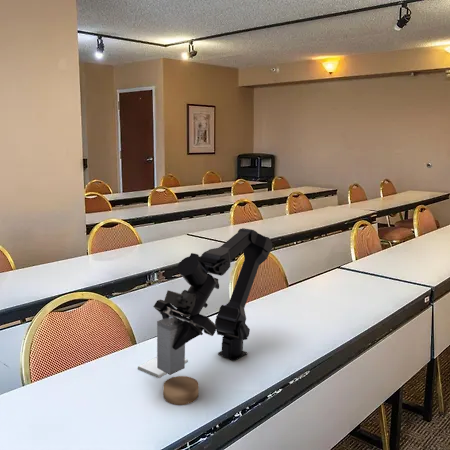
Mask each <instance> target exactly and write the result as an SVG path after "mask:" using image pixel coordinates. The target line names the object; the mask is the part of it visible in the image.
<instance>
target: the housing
mask: <svg viewBox="0 0 450 450" xmlns="http://www.w3.org/2000/svg"><path fill="white" fill-rule="evenodd" d="M184 321H185V320H182V319H180V318H177V317H174V316H170V317H168V318H165V319H163V318H162V319H160V320H157V321H156V325H157V326H156V330H157V331H156V332H157V333H156V334H157V335H156V337H157V338H156V342H157V347H156V352H157V354H156V357H157V368H158V369H160V370H162V371H164V372H165V373H167V374H168V375H169V376H171V375H174V374H176V373H178V372H180V371H183V370H184V369H185V367H186V365H185V364H186V363H185V358H186V344H184V345H183V346H181V347H180V348H178V349H177V350H175V349H173V347H174V344H175V342H176V340H177V339H178V337H179V335H180V333H181V332H182V330H183V325H184ZM167 374H166V375H167Z"/></svg>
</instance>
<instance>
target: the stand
mask: <svg viewBox="0 0 450 450" xmlns="http://www.w3.org/2000/svg"><path fill="white" fill-rule="evenodd" d="M199 385H200V384H199V382H198V380H197V379H195V378H193V377H191V376H186V375H178V376H172V377H169V378H168V379H166V380H165V381H164V382H163V387H162V388H163V393H162V395H163V399H164V401H165V402H167V403H169V404H171V405H175V406H183V405H190V404H192V403H194V402H195V401H197V400H198V398H199V391H200V390H199Z"/></svg>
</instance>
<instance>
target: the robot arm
mask: <svg viewBox="0 0 450 450" xmlns="http://www.w3.org/2000/svg"><path fill="white" fill-rule="evenodd" d="M272 250H273V242H272V241H271V239H270V237H268V236H265V235H263V234H260V233H258V232H257V231H256V230H255V229H250V228H246V227H245V228H244V227H242V228H239V229H238V231H237V232H236V233H235V234H234V235H232V237H231V238H229V239H227V240H226V242H224V243H223V244H222V245H220V246H218V247H216V248H215V247H214V248H210V249H208V250H205V251H204V252H203V253H202V254H201V255H199V254H198V253H193V252H192V253H190V255H189V256H186V257H184V258H183V259H181V260H180V261H179V263H178V264H177V272H178V274H179V275H180V276H181V277H182V278H183V279H184V281H185V282H186V283H187V284H188V285H189V286H190V287H188V289H184V290H182V291H181V293H180V292H176V291H172V290H168V289H167V291H166V295H165V297H164V300H163V299H158V300H156V302H155V303H154V305H152V307H153V309H155V310H156V311H157V312H158V313H159V314H160V315H161V317H162V319H165V318H168V317H170V316H174V317H176V318H178V319H180V320H183V321H184V325H183V330H182V332H181V333H180V335H179V337H178V339H177V340H176V342H175V344H174V347H173V349H175V350H177V349H178V348H180V347H181V346H183V345H184V344H185V345H186V343H187V344H188V343H189V342H190V341H192V340H194V339H195V338H197V337H198V336H202V335H204V334H206V335H208V336H211V337H214V335H215V333H216V334H217V335H218V336H222V340H221V341H222V342H221V351H219V352H217V354H218V355H219V356H222V357H223V358H226V359H227V360H230V361H237V360H239V359H240V358H243V357H244V356H247V354H248V352H247V351H245V350H244V341H247V340H248V338H249V337H250V331H251V329H250V327H249V326H248V325H247V324H246V321H247V316H246V311H245V308H246V307H245V306H246V305H247V301H248V299H249V296H250V294H251V293H250V292H251V290H252V288H253V284H254V281H255V279H256V276H257V273H258V270H259V268H260V265H261V264H263V263H264V262H265V261H266V260H267V259H268V257H269V256H270V254H271V252H272ZM241 252H243V253H242V254H243V257H244V260H243V263H242V265H241V268H240V271H239V274H238V276H237V279H236V281H235V285H234V287H233V290H232V293H231V295H230V299H229V301H228V303H226V304H225V305H224V304H221V305H220V307H219V310H218V312H217V315H216V318H215V321H214V322H213V320H212V319H211V318H209V317H208V316H206V315H203V314H200V313H201V312H202V310H203V308H207V307H208V305H209V304H208V303H207V301H208V299H209V298H210V296H211V294H212V292H213V291H214V289H216V290H219V289H220V283H219V279H218V278H216V277H214V276H213V275H215V276H220V277H221V276H224V275H225V274H226V272H228V270H229V269H230V268H231V262H232V261H233V259H235V257H237V256H238V255H239V254H240V253H241ZM203 332H204V333H203Z"/></svg>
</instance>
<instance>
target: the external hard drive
mask: <svg viewBox="0 0 450 450" xmlns="http://www.w3.org/2000/svg"><path fill="white" fill-rule="evenodd" d="M188 361H189V359H188V358H187V357H185V364H187V363H189V362H188ZM137 370H139V371H141V372H143V373H146V374H148V375H150V376H152V377H154V378H157V379H160V378H162V377H164V376H165V375H167V373H165V372H164V371H162V370H160V369H158V368H157V356H156V357H154V358H152V359H150V360H147V361H146V362H144V363H142V364H140V365H138V366H137Z"/></svg>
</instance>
